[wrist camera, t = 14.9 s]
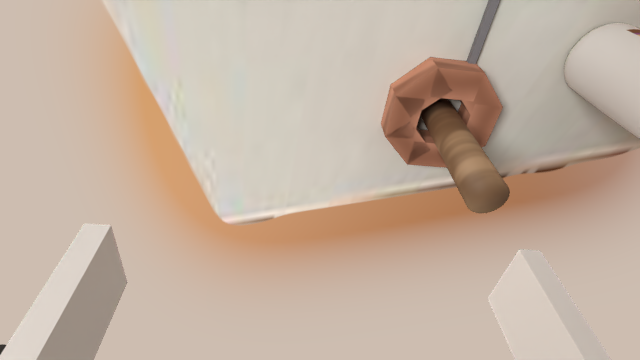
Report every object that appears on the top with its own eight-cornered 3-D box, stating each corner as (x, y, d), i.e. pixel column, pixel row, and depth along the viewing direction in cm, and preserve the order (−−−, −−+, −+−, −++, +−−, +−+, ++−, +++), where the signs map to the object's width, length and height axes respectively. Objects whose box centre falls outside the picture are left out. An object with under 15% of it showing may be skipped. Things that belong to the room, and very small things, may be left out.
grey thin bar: (504, -44, 36) (507, -43, 35) (513, -43, 36) (515, -42, 35) (466, 61, 42) (468, 63, 41) (473, 62, 42) (475, 64, 41)
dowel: (424, 93, 44) (475, 179, 31) (454, 96, 44) (516, 182, 31) (416, 121, 46) (459, 211, 33) (444, 123, 46) (499, 214, 34)
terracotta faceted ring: (398, 53, 41) (404, 64, 38) (504, 65, 42) (517, 76, 40) (374, 148, 48) (378, 162, 46) (466, 156, 49) (474, 169, 47)
